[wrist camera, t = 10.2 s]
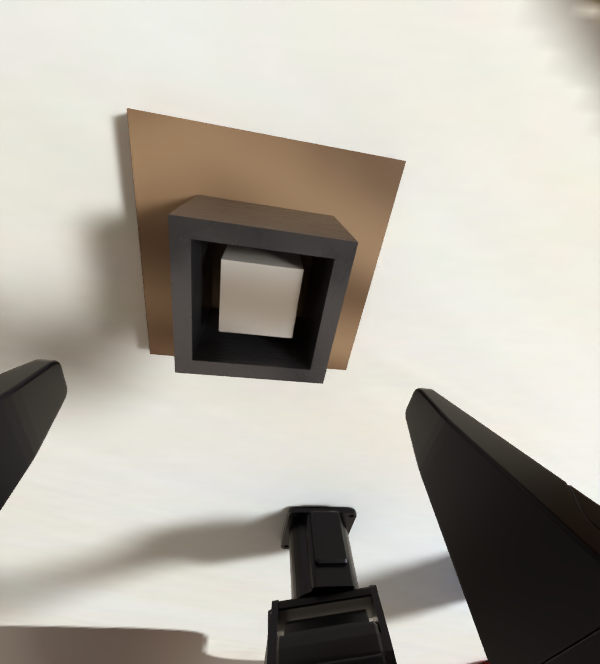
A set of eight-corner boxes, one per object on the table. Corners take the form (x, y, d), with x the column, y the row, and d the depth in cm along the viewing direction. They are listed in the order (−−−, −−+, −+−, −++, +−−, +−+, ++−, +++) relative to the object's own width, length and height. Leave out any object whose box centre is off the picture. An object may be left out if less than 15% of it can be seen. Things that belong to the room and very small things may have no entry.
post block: (342, 360, 21) (361, 415, 17) (155, 344, 19) (122, 401, 15) (398, 160, 15) (448, 165, 11) (135, 110, 13) (72, 92, 9)
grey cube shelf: (310, 328, 18) (322, 383, 14) (198, 317, 17) (175, 372, 13) (333, 215, 15) (358, 242, 11) (198, 194, 14) (167, 214, 10)
